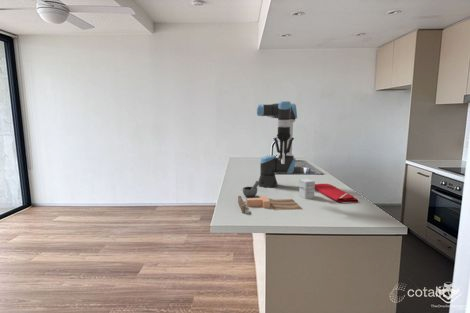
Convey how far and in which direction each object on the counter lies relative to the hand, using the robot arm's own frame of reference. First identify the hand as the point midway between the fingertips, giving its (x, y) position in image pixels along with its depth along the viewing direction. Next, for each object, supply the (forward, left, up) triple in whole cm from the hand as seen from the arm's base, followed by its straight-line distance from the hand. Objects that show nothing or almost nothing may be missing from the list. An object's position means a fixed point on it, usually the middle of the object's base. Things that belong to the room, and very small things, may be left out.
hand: (282, 163), depth 186 cm
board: (+10, -10, -25) cm, 29 cm away
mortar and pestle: (-8, -19, -25) cm, 32 cm away
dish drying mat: (-13, +40, -26) cm, 50 cm away
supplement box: (-4, +18, -25) cm, 31 cm away
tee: (+10, -18, -24) cm, 32 cm away
